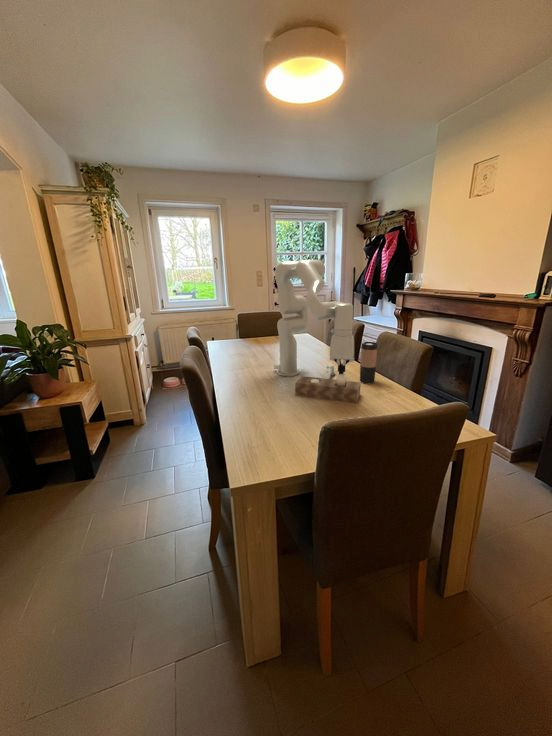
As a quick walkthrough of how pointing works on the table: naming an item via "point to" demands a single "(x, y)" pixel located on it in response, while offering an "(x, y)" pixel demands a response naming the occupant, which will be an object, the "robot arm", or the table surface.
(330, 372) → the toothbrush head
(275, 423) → the table surface
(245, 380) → the table surface
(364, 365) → the travel mug
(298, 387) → the walnut block
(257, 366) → the table surface
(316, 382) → the peg
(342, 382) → the peg
